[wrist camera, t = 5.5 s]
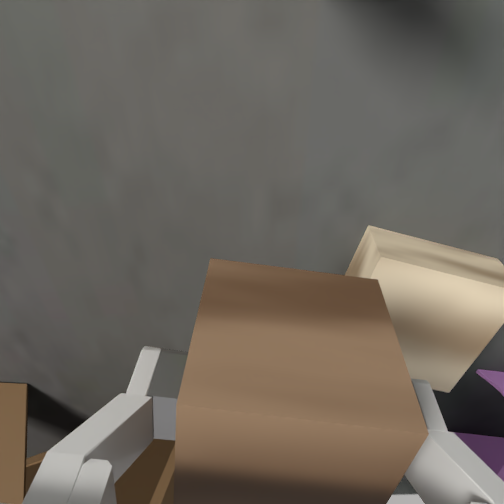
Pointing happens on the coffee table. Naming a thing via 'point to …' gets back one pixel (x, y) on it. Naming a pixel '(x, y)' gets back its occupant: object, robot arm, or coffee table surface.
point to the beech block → (434, 301)
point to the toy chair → (488, 447)
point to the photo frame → (24, 470)
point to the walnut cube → (293, 392)
